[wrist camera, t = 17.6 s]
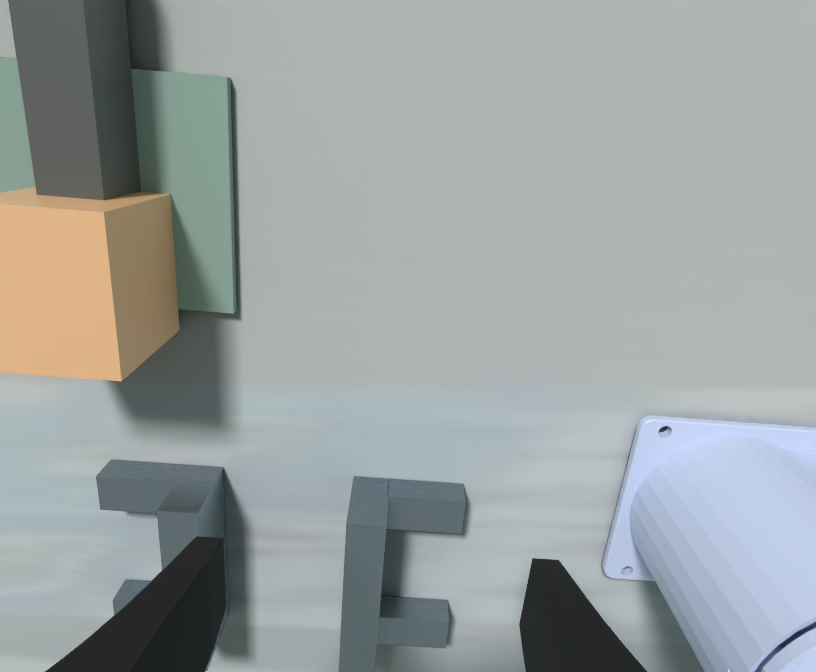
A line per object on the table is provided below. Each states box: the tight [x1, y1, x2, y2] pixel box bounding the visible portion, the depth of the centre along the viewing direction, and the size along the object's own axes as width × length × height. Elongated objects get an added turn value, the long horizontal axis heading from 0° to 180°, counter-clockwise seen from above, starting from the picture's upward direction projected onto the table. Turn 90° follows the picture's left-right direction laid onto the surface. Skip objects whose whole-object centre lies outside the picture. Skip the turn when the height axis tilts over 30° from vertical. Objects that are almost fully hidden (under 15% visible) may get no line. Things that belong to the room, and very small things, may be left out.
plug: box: [0, 0, 180, 381], centre depth 17 cm, size 4×13×4 cm, turn 175°
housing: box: [96, 460, 466, 672], centre depth 24 cm, size 15×8×3 cm, turn 85°
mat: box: [0, 57, 237, 314], centre depth 19 cm, size 8×8×1 cm
